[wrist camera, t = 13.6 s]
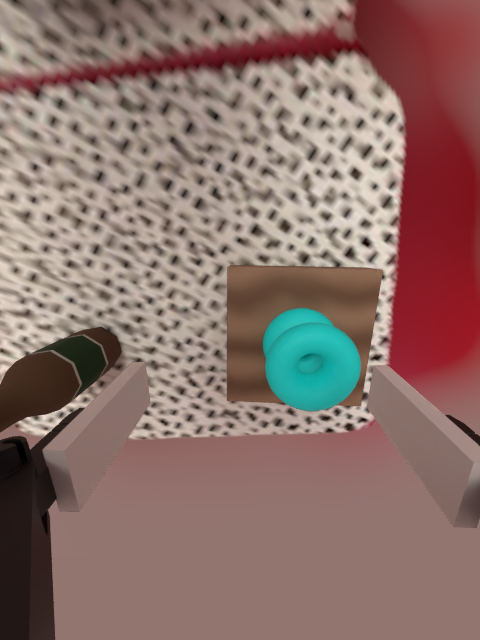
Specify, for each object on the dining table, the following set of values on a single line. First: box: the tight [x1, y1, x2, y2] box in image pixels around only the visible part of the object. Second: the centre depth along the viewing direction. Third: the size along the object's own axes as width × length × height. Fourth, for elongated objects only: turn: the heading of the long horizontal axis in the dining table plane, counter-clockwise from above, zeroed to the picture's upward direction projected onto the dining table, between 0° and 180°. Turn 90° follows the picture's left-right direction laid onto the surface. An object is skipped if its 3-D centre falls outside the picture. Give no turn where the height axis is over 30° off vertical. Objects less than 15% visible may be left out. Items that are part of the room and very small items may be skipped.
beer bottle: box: [0, 327, 121, 432], centre depth 31 cm, size 8×8×24 cm
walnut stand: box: [227, 265, 383, 406], centre depth 38 cm, size 20×20×5 cm
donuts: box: [263, 308, 361, 411], centre depth 30 cm, size 10×10×10 cm
